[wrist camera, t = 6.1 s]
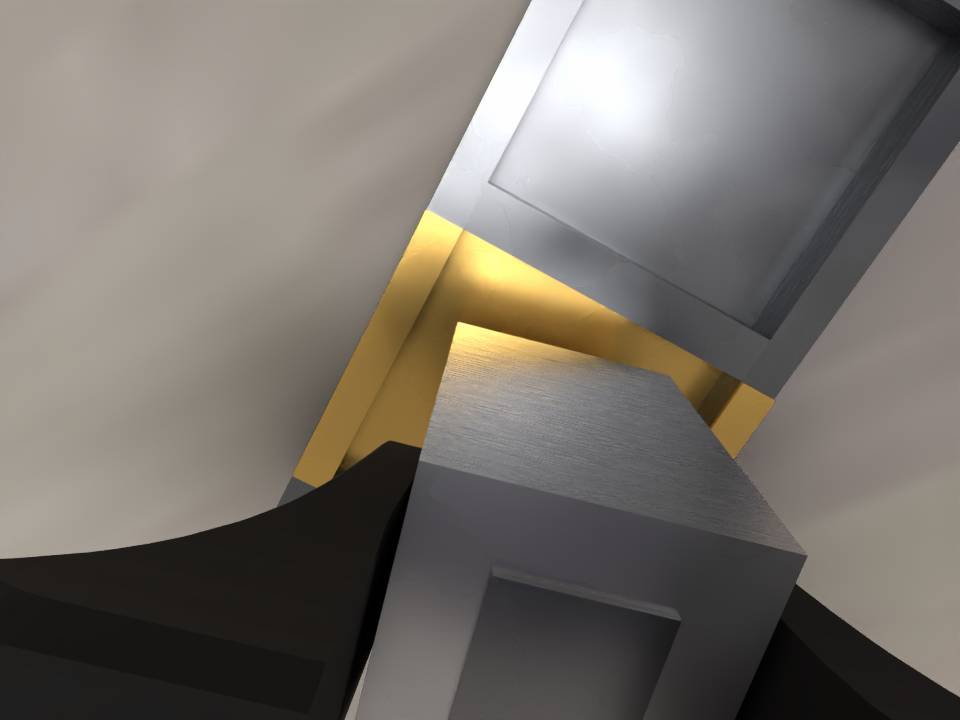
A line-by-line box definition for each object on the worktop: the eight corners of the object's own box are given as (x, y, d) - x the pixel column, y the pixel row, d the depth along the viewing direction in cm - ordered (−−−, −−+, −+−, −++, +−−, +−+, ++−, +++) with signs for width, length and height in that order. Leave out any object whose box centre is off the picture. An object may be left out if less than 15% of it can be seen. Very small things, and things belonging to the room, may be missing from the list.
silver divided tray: (1314, -433, 11) (1440, -523, 10) (580, 618, 18) (587, 661, 16) (914, -745, 10) (984, -899, 9) (295, 479, 17) (274, 511, 15)
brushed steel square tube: (669, 375, 13) (812, 561, 7) (604, 559, 14) (679, 855, 8) (458, 321, 12) (417, 465, 7) (410, 512, 14) (339, 779, 8)
